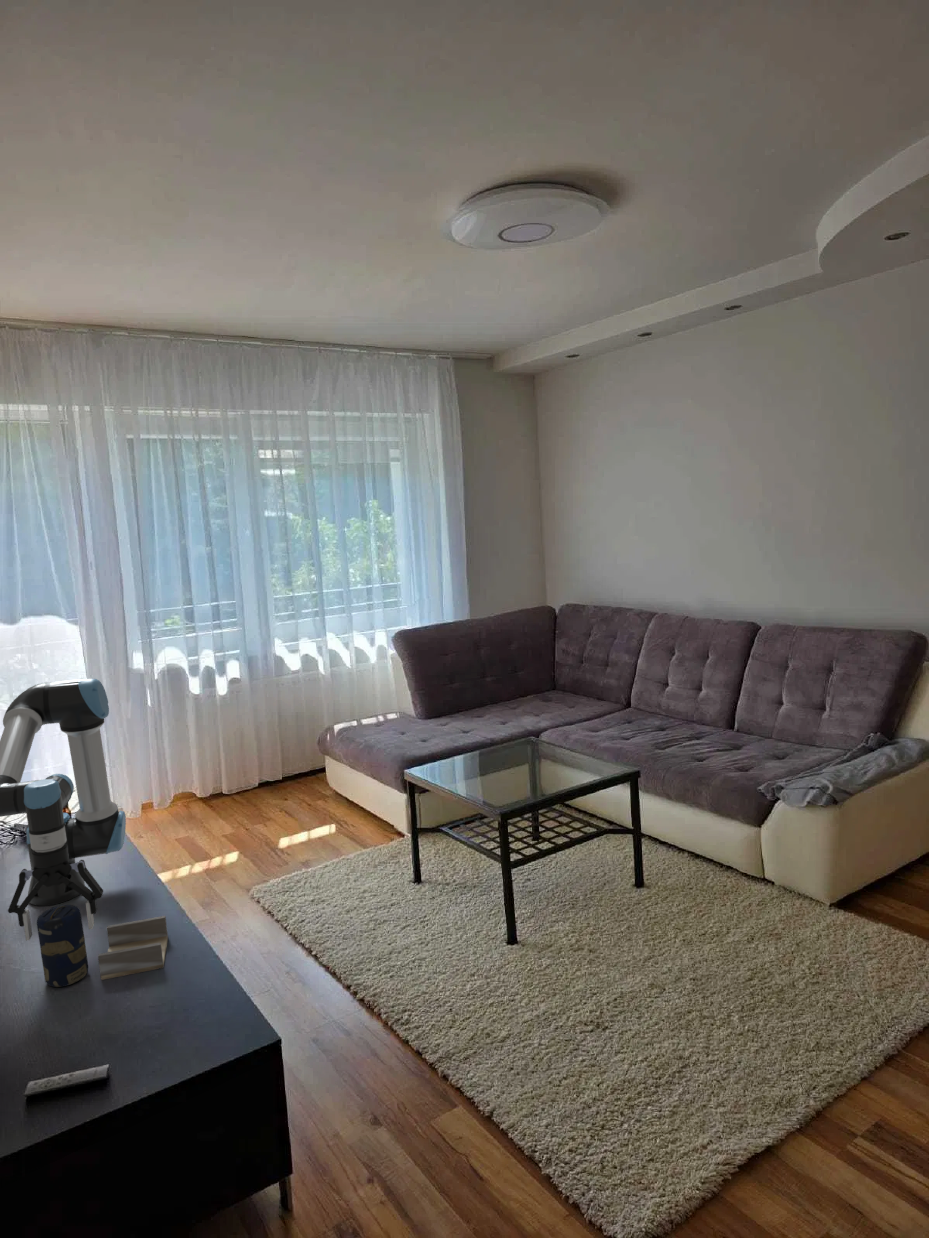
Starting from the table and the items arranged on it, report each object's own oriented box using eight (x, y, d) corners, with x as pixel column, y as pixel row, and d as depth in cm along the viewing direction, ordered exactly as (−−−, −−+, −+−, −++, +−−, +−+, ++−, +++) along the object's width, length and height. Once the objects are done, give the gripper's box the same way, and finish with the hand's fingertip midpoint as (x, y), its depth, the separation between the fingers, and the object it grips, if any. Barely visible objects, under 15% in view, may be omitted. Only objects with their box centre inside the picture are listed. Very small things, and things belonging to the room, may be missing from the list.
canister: (98, 970, 200) (88, 900, 198) (67, 992, 191) (57, 920, 189) (67, 965, 203) (57, 896, 201) (36, 987, 195) (25, 915, 192)
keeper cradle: (110, 947, 211) (107, 925, 210) (168, 937, 214) (165, 915, 213) (101, 979, 196) (97, 956, 195) (163, 967, 200) (160, 944, 199)
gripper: (-15, 861, 186) (-2, 950, 189) (104, 843, 193) (114, 929, 195) (-6, 849, 193) (6, 934, 196) (108, 832, 200) (119, 915, 202)
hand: (60, 932), depth 195 cm, fingers open, 13 cm apart
